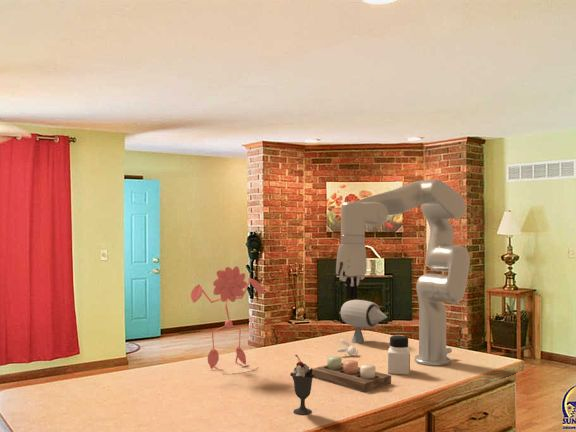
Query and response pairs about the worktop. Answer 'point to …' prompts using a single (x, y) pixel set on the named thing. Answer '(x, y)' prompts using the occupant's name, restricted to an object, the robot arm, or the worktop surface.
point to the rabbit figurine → (350, 349)
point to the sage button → (334, 363)
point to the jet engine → (361, 316)
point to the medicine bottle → (399, 355)
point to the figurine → (230, 289)
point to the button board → (351, 379)
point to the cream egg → (367, 372)
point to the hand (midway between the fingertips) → (351, 298)
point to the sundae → (302, 385)
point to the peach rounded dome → (350, 367)
